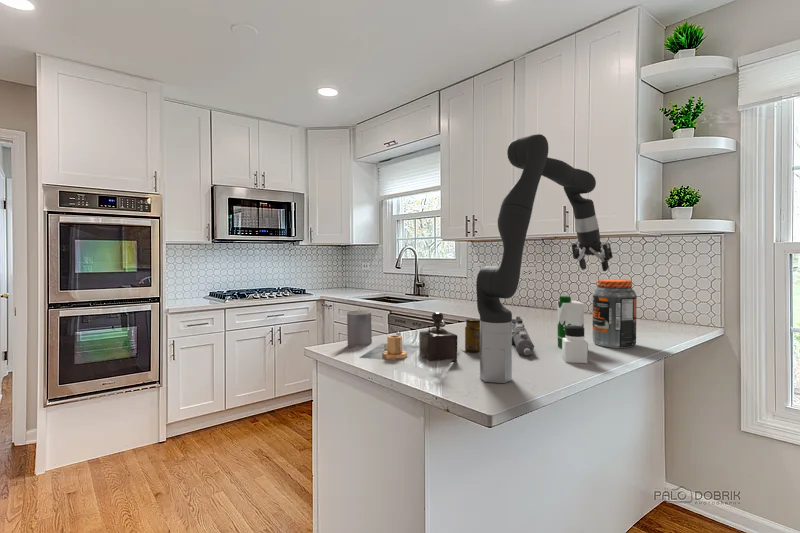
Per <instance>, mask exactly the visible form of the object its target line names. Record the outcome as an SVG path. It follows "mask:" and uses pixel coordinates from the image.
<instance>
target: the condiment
mask: <svg viewBox="0 0 800 533" xmlns="http://www.w3.org/2000/svg"><path fill="white" fill-rule="evenodd" d="M465 323H466V324H465V327H464V348H461V349H460V350H461V351H462V352H465V353H466V354H468V355H480V318H479V319H478V318H468V319H466V320H465Z"/></svg>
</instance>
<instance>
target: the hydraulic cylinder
mask: <svg viewBox="0 0 800 533" xmlns="http://www.w3.org/2000/svg"><path fill="white" fill-rule="evenodd" d="M512 346H515V347H516V349H517V351H518V353H519V354H520V355H522V356H529V355H531V354H532V353H533V351H534V349H535V346H534V344H533V342H532V340H531V337H530V335H529V333H528V331H527V329H526V328H525V324H524V323H523V318H521V316H516V317H515V318H512Z"/></svg>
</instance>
